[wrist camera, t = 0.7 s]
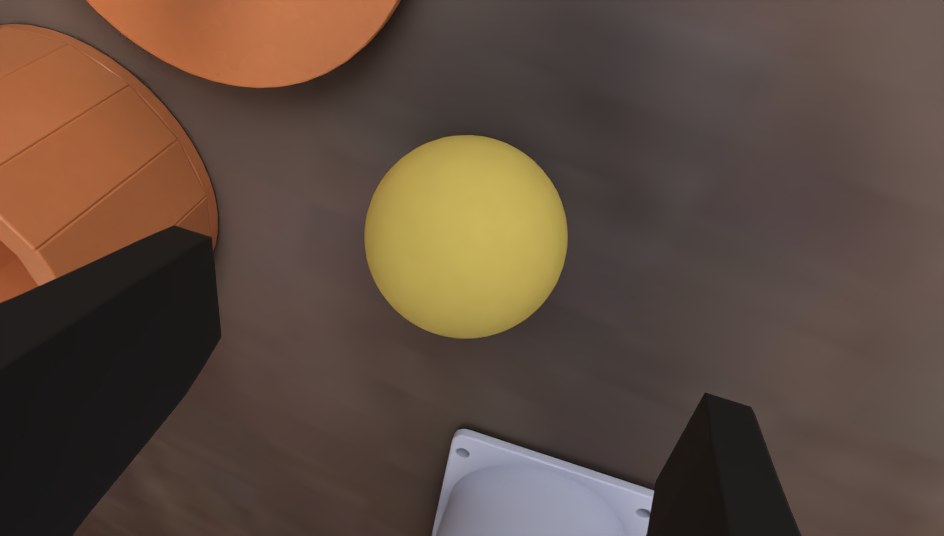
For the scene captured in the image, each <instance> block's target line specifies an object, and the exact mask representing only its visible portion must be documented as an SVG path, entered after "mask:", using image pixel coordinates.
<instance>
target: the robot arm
mask: <svg viewBox="0 0 944 536" xmlns="http://www.w3.org/2000/svg"><path fill="white" fill-rule="evenodd" d="M220 338H221V328H220V317H219V307H218V296H217V286H216V275H215V264H214V254H213V243H212V237H210V236H207V235H204V234H200V233H197V232H194V231H191V230H188V229H185V228H181V227H178V226H175V225H173V226H171V227H169V228H166V229H164V230H161V231H159V232H157V233H154V234H152V235H150V236H147V237H145V238H143V239H141V240H139V241H136V242H134V243H132V244H130V245H128V246H126V247H123V248H121V249H119V250H117V251H115V252H113V253H110V254H108V255H106V256H104V257H102V258H100V259H98V260H95V261H93V262H91V263H89V264H87V265H85V266H82V267H80V268H78V269H76V270H74V271H71V272H69V273H67V274H65V275H63V276H60V277H58V278H56V279H54V280H52V281H49V282H47V283H45V284H43V285H40V286H38V287H36V288H34V289H32V290H29V291H27V292H25V293H23V294H20V295H18V296H16V297H13V298H11V299H9V300H6V301H4V302H1V303H0V536H72V535H73V534H74V532H75V531H76V530H77V528H78V527H79V526H80V524H81V523H82V522H83V520H84V519H85V518H86V516H87V515H88V514H89V513H90V512H91V510H92V509H93V508H94V507H95V505H96V504H97V503H98V502H99V501H100V499H101V498H102V497H103V496H104V494H105V493H106V492H107V491H108V490H109V488H110V487H111V486H112V485H113V483H114V482H115V481H116V480H117V479H118V477H119V476H120V475H121V474H122V472H123V471H124V470H125V469H126V468H127V466H128V465H129V464H130V463H131V461H132V460H133V459H134V458H135V457H136V455H137V454H138V453H139V452H140V450H141V449H142V448H143V447H144V446H145V444H146V443H147V442H148V441H149V440H150V438H151V437H152V436H153V435H154V433H155V432H156V431H157V430H158V428H159V427H160V426H161V425H162V423H163V422H164V421H165V420H166V418H167V417H168V416H169V415H170V413H171V412H172V411H173V410H174V409H175V407H176V406H177V405H178V403H179V402H180V401H181V400H182V398H183V397H184V396H185V395H186V393H187V392H188V390H189V389H190V387H191V385H192V384H193V382H194V381H195V379H196V378H197V376H198V374H199V373H200V371H201V370H202V368H203V367H204V365H205V363H206V362H207V360H208V358H209V357H210V355H211V353H212V351H213V350H214V348H215V346H216V345H217V343H218V341H219V340H220ZM646 534H647V536H801V534H800V531H799V529H798V527H797V524H796V522H795V519H794V517H793V514H792V512H791V509H790V507H789V504H788V502H787V499H786V497H785V494H784V492H783V489H782V486H781V484H780V481H779V479H778V476H777V473H776V471H775V468H774V465H773V463H772V460H771V457H770V455H769V452H768V449H767V446H766V444H765V441H764V438H763V435H762V432H761V430H760V427H759V424H758V421H757V419H756V416H755V414H754V412H753V410H752V408H751V407H749V406H746V405H743V404H740V403H737V402H733V401H730V400H727V399H724V398H721V397H718V396H714V395H711V394H708V393H705V394H704V395H703V397H702V399H701V401H700V403H699V404H698V406H697V408H696V410H695V412H694V413H693V415H692V417H691V419H690V421H689V422H688V424H687V426H686V428H685V430H684V431H683V433H682V435H681V437H680V439H679V440H678V442H677V444H676V446H675V448H674V449H673V451H672V453H671V455H670V457H669V458H668V460H667V462H666V464H665V466H664V467H663V469H662V471H661V473H660V475H659V476H658V478H657V480H656V484H655V489H654V490H651V489H648V488H645V487H642V486H639V485H636V484H633V483H630V482H627V481H624V480H621V479H618V478H615V477H612V476H609V475H605V474H602V473H599V472H596V471H593V470H590V469H587V468H584V467H581V466H578V465H575V464H572V463H569V462H566V461H563V460H560V459H557V458H554V457H551V456H548V455H545V454H542V453H539V452H536V451H533V450H530V449H527V448H523V447H520V446H517V445H514V444H511V443H508V442H505V441H502V440H499V439H496V438H493V437H490V436H487V435H484V434H481V433H478V432H475V431H472V430H469V429H459V430H457V431H456V432H455V434H454V436H453V439H452V443H451V448H450V452H449V457H448V462H447V466H446V471H445V475H444V480H443V485H442V489H441V494H440V499H439V503H438V508H437V513H436V517H435V522H434V526H433V531H432V536H646Z"/></svg>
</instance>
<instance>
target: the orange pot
mask: <svg viewBox="0 0 944 536" xmlns="http://www.w3.org/2000/svg"><path fill="white" fill-rule="evenodd" d="M173 225H175V226H178V227H181V228H185V229H188V230H191V231H194V232H197V233H200V234H204V235H207V236H210V237H212V243H213V251H214V248H215V245H216V240H217V233H218V211H217V205H216V199H215V195H214V191H213V188H212V185H211V181H210V178H209V176H208V174H207V171H206V169H205V166H204V164H203V162H202V160H201V158H200V156H199V154H198V152H197V151H196V149H195V147H194V145H193V143H192V142H191V140H190V139H189V137H188V136H187V134H186V133H185V131H184V130H183V128H182V127H181V125H180V124H179V122H178V121H177V120H176V119H175V118H174V116H173V115H172V114H171V113H170V111H169V110H168V109H167V108H166V106H165V105H164V104H163V103H162V102H161V101H160V100H159V99H158V98H157V97H156V96H155V95H154V94H153V93H152V92H151V91H150V90H149V89H148V88H147V87H146V86H145V85H144V84H143V83H142V82H141V81H139V80H138V79H137V78H136V77H135V76H134V75H133V74H131V73H130V72H129V71H128V70H126V69H125V68H124V67H122V66H121V65H119V64H118V63H117V62H115V61H114V60H113V59H111V58H110V57H108V56H107V55H105V54H103V53H102V52H100V51H98V50H97V49H95V48H93V47H92V46H90V45H88V44H86V43H83V42H81V41H79V40H77V39H75V38H73V37H71V36H68V35H65V34H62V33H60V32H57V31H54V30H51V29H47V28H42V27H37V26H33V25H21V24H6V25H0V303H1V302H4V301H6V300H9V299H11V298H13V297H16V296H18V295H20V294H23V293H25V292H27V291H29V290H32V289H34V288H36V287H38V286H40V285H43V284H45V283H47V282H49V281H52V280H54V279H56V278H58V277H60V276H63V275H65V274H67V273H69V272H71V271H74V270H76V269H78V268H80V267H82V266H85V265H87V264H89V263H91V262H93V261H95V260H98V259H100V258H102V257H104V256H106V255H108V254H110V253H113V252H115V251H117V250H119V249H121V248H123V247H126V246H128V245H130V244H132V243H134V242H136V241H139V240H141V239H143V238H145V237H147V236H150V235H152V234H154V233H157V232H159V231H161V230H164V229H166V228H169V227H171V226H173Z"/></svg>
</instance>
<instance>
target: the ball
mask: <svg viewBox="0 0 944 536" xmlns="http://www.w3.org/2000/svg"><path fill="white" fill-rule="evenodd" d="M364 236H365V251H366V257H367V262H368V265H369V268H370V271H371V274H372V276H373V279H374V281H375V283H376V285H377V287H378V288H379V290H380V292H381V293H382V294H383V296H384V297H385V298H386V300H387V301H388V302H389V304H390V305H391V306H392V307H393V308H394V309H395V310H396V311H397V312H398V313H399V314H401V315H402V316H403V317H404V318H406V319H407V320H408V321H410V322H411V323H413V324H415V325H416V326H418V327H420V328H422V329H424V330H426V331H429V332H432V333H435V334H438V335H442V336H446V337H452V338H480V337H487V336H490V335H494V334H497V333H500V332H503V331H505V330H508V329H510V328H512V327H514V326H515V325H517V324H519V323H520V322H522V321H524V320H525V319H527V318H528V317H529V316H530V315H531V314H533V313H534V312H535V311H536V310H537V309H538V308H539V307H540V306H541V305H542V304H543V303H544V301H545V300H546V299H547V298H548V296H549V295H550V293H551V292H552V290H553V288H554V287H555V285H556V283H557V281H558V279H559V276H560V274H561V271H562V269H563V266H564V261H565V257H566V252H567V241H568V233H567V222H566V216H565V212H564V208H563V205H562V202H561V199H560V197H559V195H558V192H557V190H556V189H555V187H554V185H553V183H552V182H551V180H550V179H549V178H548V176H547V175H546V174H545V172H544V171H543V170H542V169H541V168H540V167H539V166H538V165H537V164H536V163H535V162H534V161H533V160H532V159H531V158H530V157H528V156H527V155H526V154H525V153H523V152H521V151H520V150H518V149H517V148H515V147H513V146H511V145H509V144H507V143H505V142H502V141H499V140H496V139H493V138H488V137H483V136H474V135H457V136H449V137H443V138H440V139H437V140H434V141H431V142H428V143H426V144H423V145H421V146H419V147H417V148H416V149H414V150H413V151H411V152H410V153H408V154H407V155H405V156H404V157H402V158H401V159H400V160H399V161H398V162H397V163H396V164H395V165H394V166H393V167H392V168H391V169H390V170H389V171H388V172H387V174H386V175H385V176H384V178H383V179H382V180H381V182H380V184H379V185H378V187H377V189H376V191H375V193H374V195H373V197H372V200H371V203H370V206H369V209H368V212H367V216H366V223H365V232H364Z"/></svg>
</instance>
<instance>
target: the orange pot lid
mask: <svg viewBox="0 0 944 536" xmlns="http://www.w3.org/2000/svg"><path fill="white" fill-rule="evenodd" d="M86 1H87V2H88V3H89V4H90V5H91V6H92V7H93V8H94V9H95V10H96V11H97V12H98V13H99V14H100V15H101V16H102V17H104V18H105V19H106V20H107V21H108V22H109V23H110V24H111V25H113V26H114V27H115V28H116V29H117V30H118V31H120V32H121V33H122V34H124V35H125V36H126V37H128V38H129V39H130V40H132V41H133V42H134V43H136V44H137V45H138V46H140V47H141V48H143V49H144V50H146V51H148V52H149V53H151V54H153V55H154V56H156V57H158V58H159V59H161V60H163V61H164V62H166V63H169V64H171V65H173V66H175V67H177V68H179V69H181V70H183V71H185V72H187V73H190V74H193V75H196V76H199V77H202V78H205V79H207V80H210V81H214V82H219V83H223V84H228V85H233V86H240V87H252V88H270V87H284V86H289V85H293V84H298V83H303V82H306V81H309V80H312V79H314V78H317V77H319V76H322V75H324V74H327V73H329V72H330V71H332V70H334V69H335V68H337V67H339V66H340V65H342V64H344V63H346V62H347V61H348V60H349V59H351V58H352V57H353V56H354V55H355V54H357V53H358V52H359V51H360V50H361V49H363V48H364V47H365V46H366V45H367V44H368V43H369V42H370V41H371V40H372V39H373V38H374V37H375V36H376V35H377V33H378V32H379V31H380V30H381V29H382V28H383V27H384V25H385V24H386V23H387V22H388V20H389V19H390V17H391V16H392V14H393V12H394V11H395V9H396V8H397V6H398V4H399V3H400V1H401V0H86Z"/></svg>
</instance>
